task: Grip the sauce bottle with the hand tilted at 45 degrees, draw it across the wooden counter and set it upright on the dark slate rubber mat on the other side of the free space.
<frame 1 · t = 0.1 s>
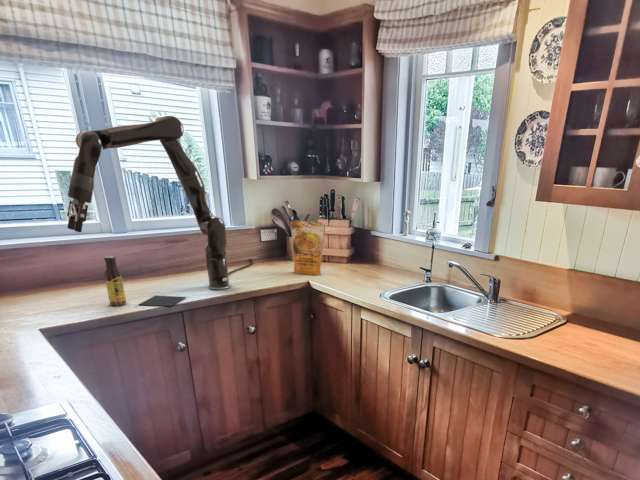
hand: (74, 230, 176), 31 cm above the worktop, tool tilted 20°, fingers open, 8 cm apart
pancake mix bag: (308, 273, 261), on the worktop
sauce bottle: (118, 304, 198), on the worktop
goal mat: (163, 301, 203), on the worktop
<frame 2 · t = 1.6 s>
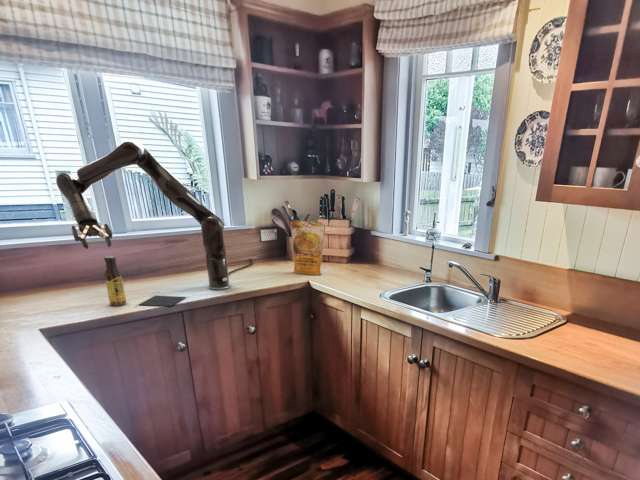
hand: (98, 246, 196), 22 cm above the worktop, tool tilted 45°, fingers open, 8 cm apart
nothing on the worktop moved.
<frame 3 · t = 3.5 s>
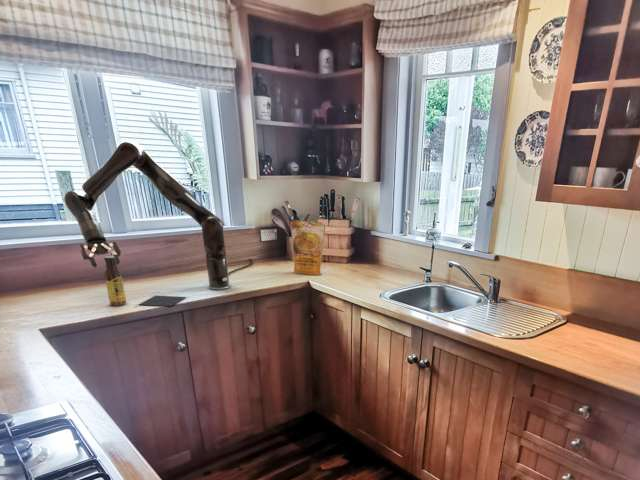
hand: (107, 265, 195), 16 cm above the worktop, tool tilted 45°, fingers open, 8 cm apart
nothing on the worktop moved.
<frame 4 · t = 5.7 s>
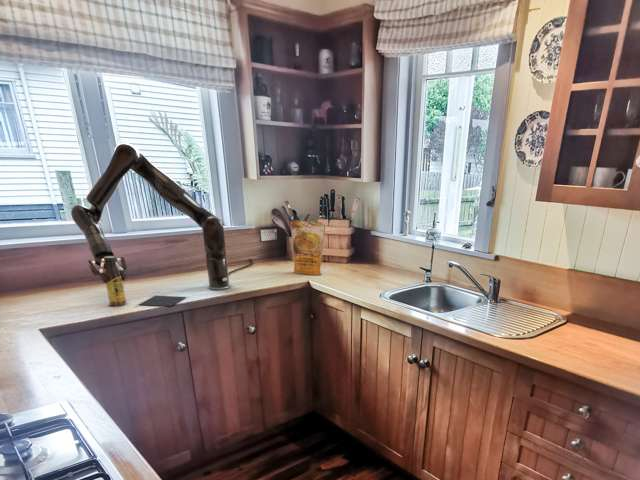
hand: (115, 280, 192), 10 cm above the worktop, tool tilted 45°, fingers closed on sauce bottle, 6 cm apart
sauce bottle: (118, 304, 198), on the worktop, touching gripper
everything else where it was.
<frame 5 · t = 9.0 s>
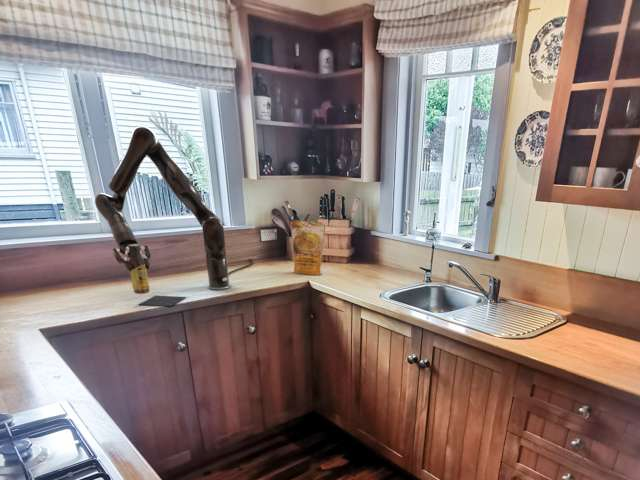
hand: (139, 268, 193), 15 cm above the worktop, tool tilted 45°, fingers closed on sauce bottle, 6 cm apart
sauce bottle: (142, 292, 199), point 4 cm above the worktop, touching gripper
everything else where it was.
when the fingers open (11 cm above the worktop, at t = 12.4 s): sauce bottle stays where it is, resting on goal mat.
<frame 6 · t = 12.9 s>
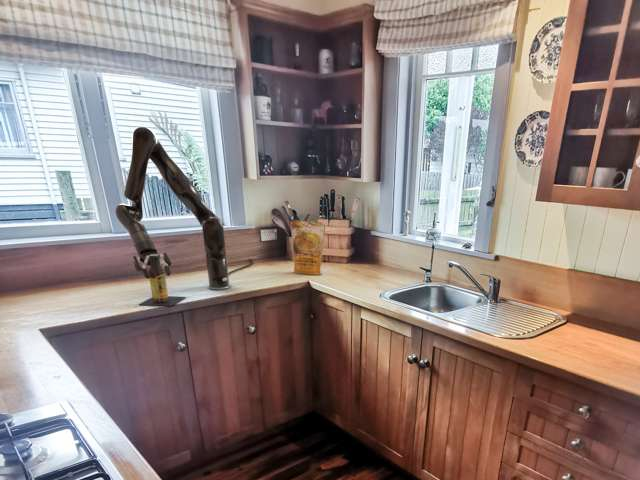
hand: (158, 276, 197), 12 cm above the worktop, tool tilted 45°, fingers open, 8 cm apart
sauce bottle: (161, 301, 203), resting on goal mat
everything else where it was.
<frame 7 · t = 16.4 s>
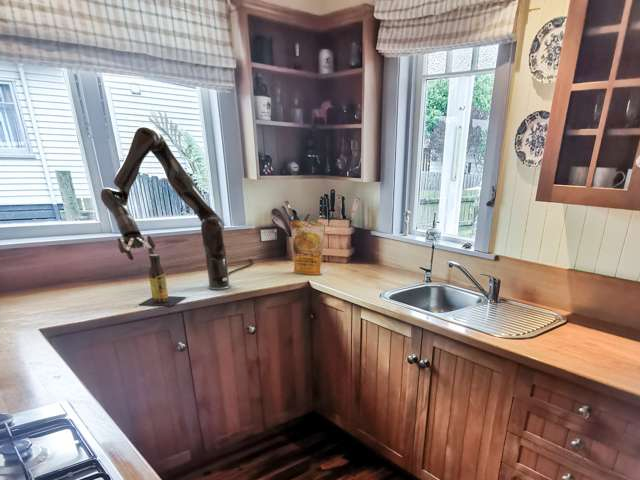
hand: (142, 258, 203), 17 cm above the worktop, tool tilted 45°, fingers open, 8 cm apart
nothing on the worktop moved.
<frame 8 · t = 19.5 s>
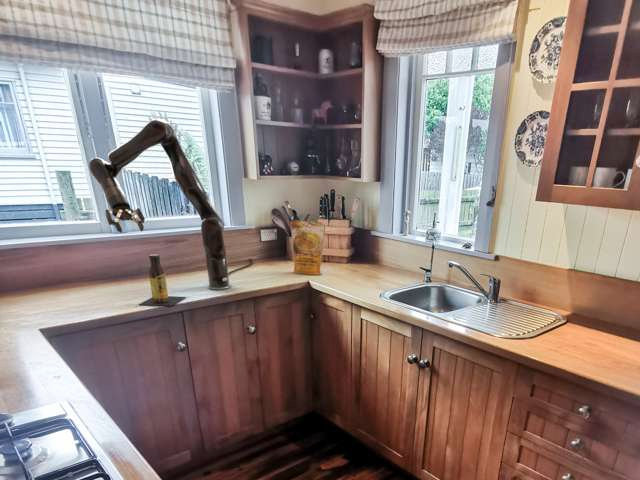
hand: (131, 230, 197), 29 cm above the worktop, tool tilted 45°, fingers open, 8 cm apart
nothing on the worktop moved.
at the end: sauce bottle inside the target area on the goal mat (1.0 cm from its centre), point 0.2 cm above the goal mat's base; sauce bottle tilted 0°; sauce bottle moved 16.8 cm from its start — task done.
